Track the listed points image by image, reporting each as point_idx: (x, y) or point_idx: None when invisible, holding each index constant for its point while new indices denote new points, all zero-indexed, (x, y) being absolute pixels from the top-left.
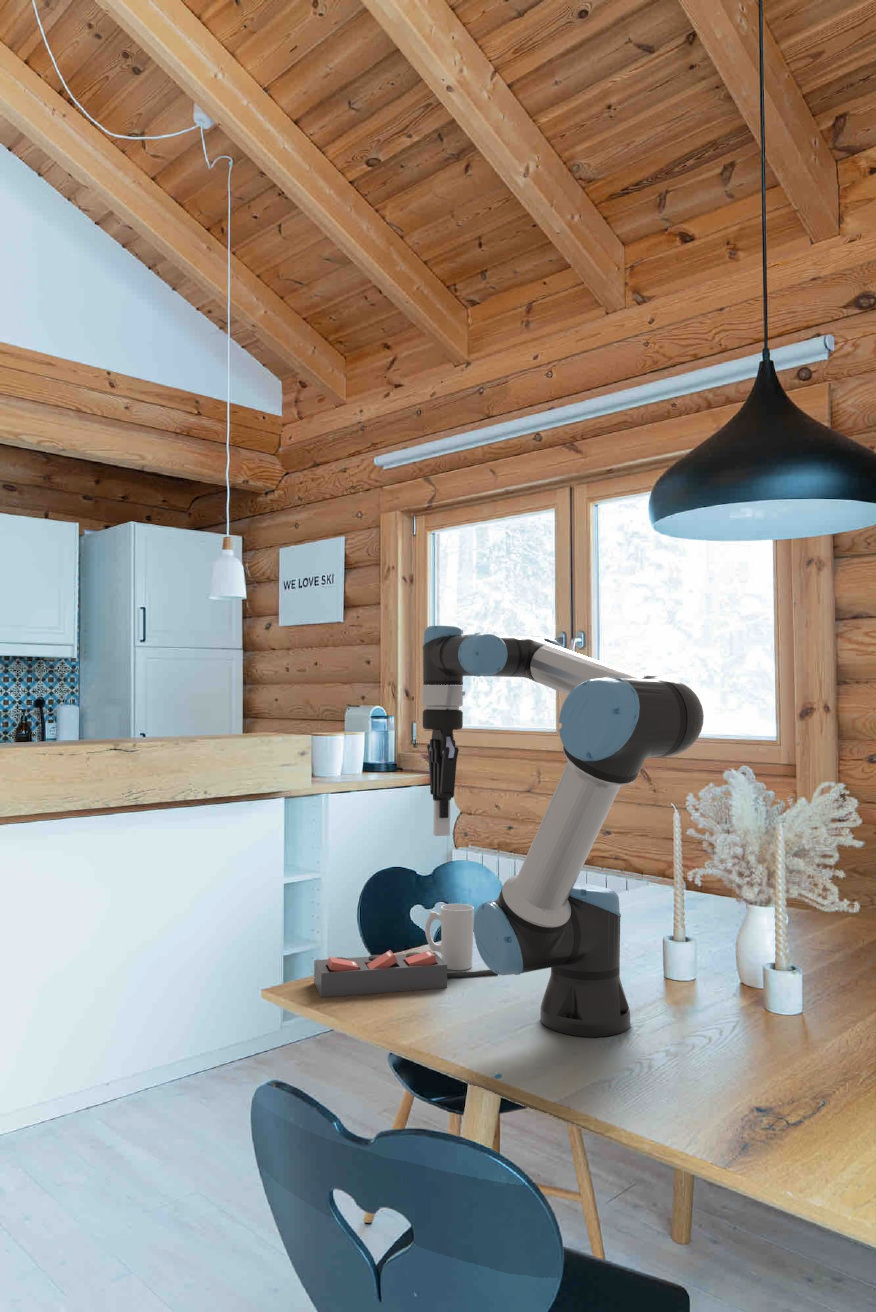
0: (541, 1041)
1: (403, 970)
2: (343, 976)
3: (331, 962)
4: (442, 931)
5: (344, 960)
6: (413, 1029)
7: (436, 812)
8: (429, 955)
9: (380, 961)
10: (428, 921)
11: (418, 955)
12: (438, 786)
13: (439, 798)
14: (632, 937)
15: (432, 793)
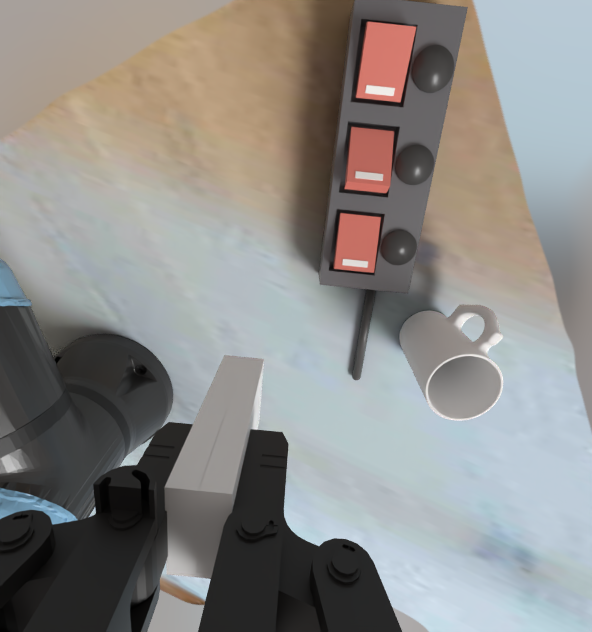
0: (51, 303)
1: (330, 196)
2: (347, 57)
3: (373, 22)
4: (450, 333)
5: (398, 70)
6: (131, 140)
7: (192, 429)
8: (342, 259)
9: (361, 153)
10: (489, 319)
11: (367, 244)
12: (36, 621)
13: (103, 513)
14: (444, 609)
15: (318, 550)
